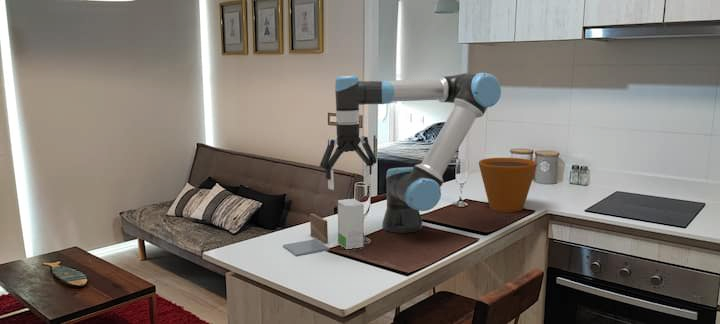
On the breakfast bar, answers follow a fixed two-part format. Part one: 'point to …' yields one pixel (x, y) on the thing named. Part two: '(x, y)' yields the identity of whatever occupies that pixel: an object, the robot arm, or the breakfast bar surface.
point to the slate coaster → (306, 247)
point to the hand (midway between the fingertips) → (349, 186)
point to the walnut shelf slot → (319, 228)
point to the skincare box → (350, 223)
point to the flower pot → (507, 182)
